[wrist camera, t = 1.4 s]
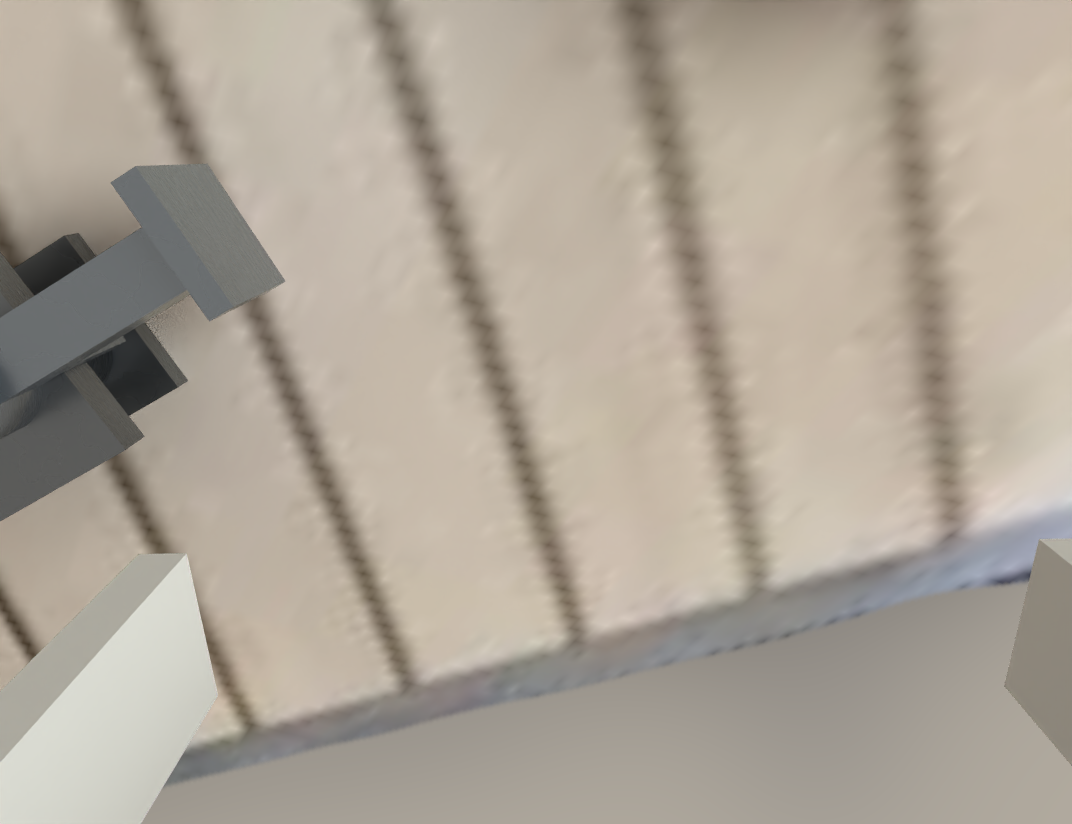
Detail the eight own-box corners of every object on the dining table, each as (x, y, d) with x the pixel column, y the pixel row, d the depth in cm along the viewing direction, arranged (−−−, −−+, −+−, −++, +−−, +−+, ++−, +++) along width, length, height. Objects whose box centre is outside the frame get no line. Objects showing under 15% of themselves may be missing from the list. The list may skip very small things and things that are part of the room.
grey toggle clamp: (-157, 357, 35) (-415, 432, 26) (223, 108, 31) (81, 88, 22) (-12, 519, 38) (-196, 640, 29) (352, 310, 34) (278, 370, 25)
